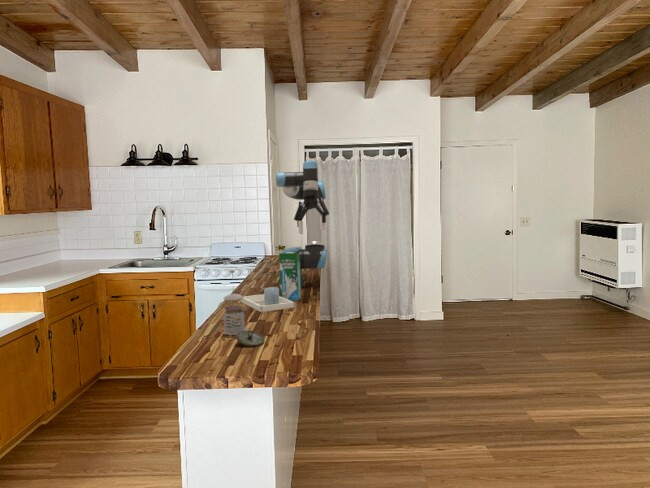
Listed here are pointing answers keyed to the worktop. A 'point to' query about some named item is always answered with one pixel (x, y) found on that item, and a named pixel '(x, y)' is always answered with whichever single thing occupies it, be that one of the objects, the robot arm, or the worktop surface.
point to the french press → (229, 325)
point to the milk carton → (290, 275)
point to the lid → (249, 338)
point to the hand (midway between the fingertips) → (311, 231)
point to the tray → (259, 305)
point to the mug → (271, 295)
